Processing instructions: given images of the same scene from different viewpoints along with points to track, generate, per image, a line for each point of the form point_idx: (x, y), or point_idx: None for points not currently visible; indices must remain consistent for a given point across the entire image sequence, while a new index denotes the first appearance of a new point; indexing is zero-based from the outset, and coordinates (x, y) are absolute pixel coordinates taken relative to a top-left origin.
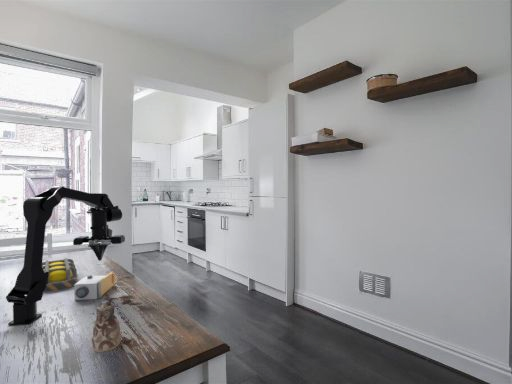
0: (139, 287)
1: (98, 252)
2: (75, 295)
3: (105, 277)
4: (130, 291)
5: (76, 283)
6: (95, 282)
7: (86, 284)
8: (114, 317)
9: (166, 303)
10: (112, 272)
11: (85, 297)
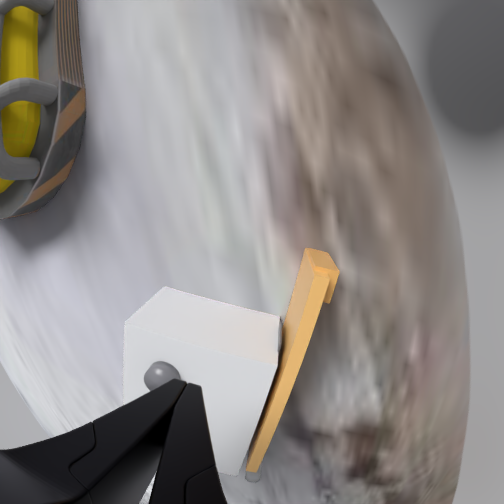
0: (444, 334)
1: (134, 493)
2: None
3: (276, 420)
4: (397, 379)
5: None
6: (228, 464)
7: None
8: None
9: (452, 482)
10: (322, 302)
11: None
